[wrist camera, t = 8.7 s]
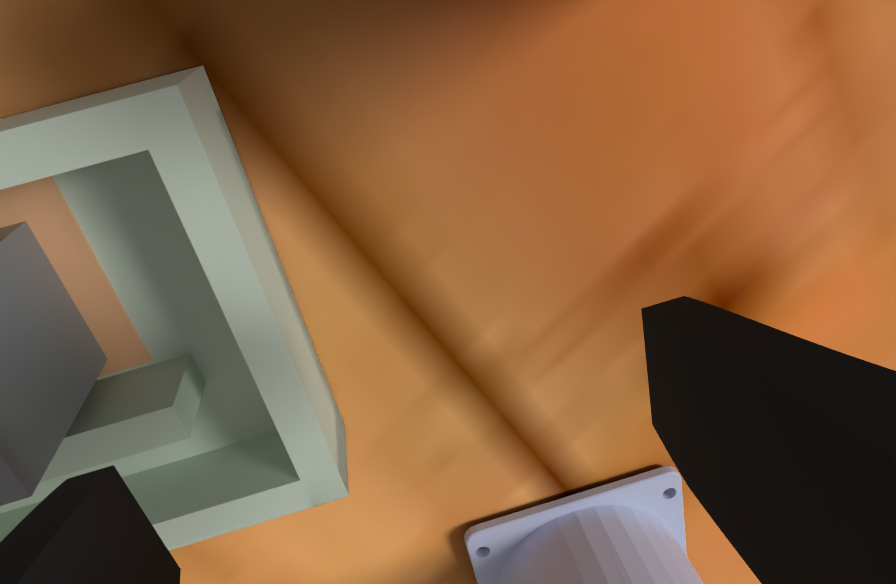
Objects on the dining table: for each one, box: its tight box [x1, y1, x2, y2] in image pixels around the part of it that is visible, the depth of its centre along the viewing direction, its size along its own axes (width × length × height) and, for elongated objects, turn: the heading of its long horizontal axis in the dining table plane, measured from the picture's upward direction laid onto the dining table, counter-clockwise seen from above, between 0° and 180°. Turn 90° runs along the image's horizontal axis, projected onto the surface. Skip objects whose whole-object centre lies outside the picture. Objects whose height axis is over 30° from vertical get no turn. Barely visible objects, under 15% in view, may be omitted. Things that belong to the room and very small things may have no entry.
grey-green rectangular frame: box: [0, 65, 349, 551], centre depth 16 cm, size 11×14×3 cm
